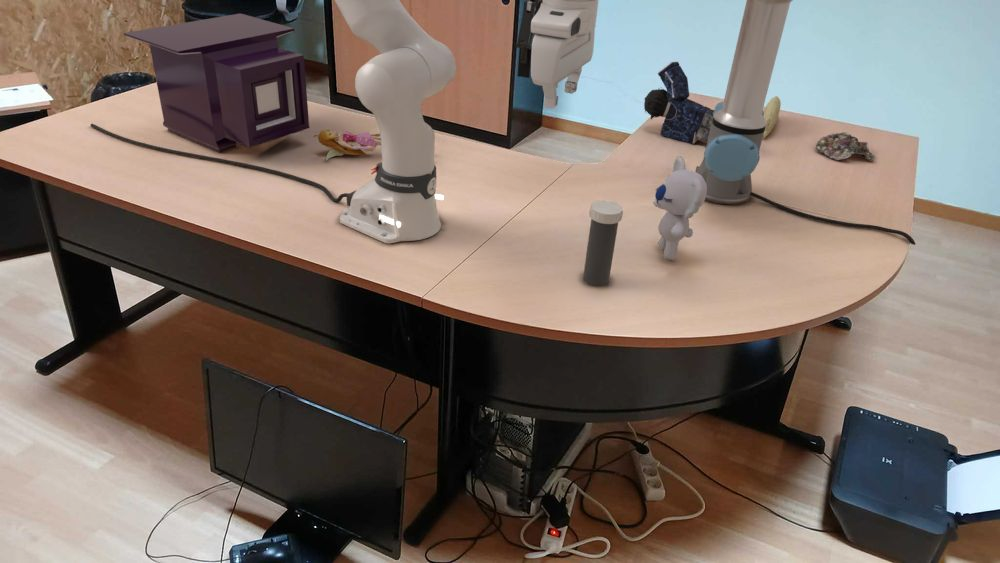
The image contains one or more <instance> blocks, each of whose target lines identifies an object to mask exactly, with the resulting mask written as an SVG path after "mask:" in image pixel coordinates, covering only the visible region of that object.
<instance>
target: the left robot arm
mask: <svg viewBox="0 0 1000 563" xmlns="http://www.w3.org/2000/svg"><path fill="white" fill-rule="evenodd" d="M334 3H335V4H336V6H337V9H339V11H340V13H341V15H342V17H343V18H344V20H345V22H346V24H347V26H348V28H349V30H350V31H351V33H352V34H353V35H354V36H355V37H357V38H358V39H360V40H362V41H364V42H366V43H368V44H370V45H371V46H372V47H373V48H375V50H377V51H378V53H379V54H377V55H375V56H374V57H372V58H371V59H369V60H368V61H367V62H365V63H364V64H363V65H362V66H360V67H359V69H358V70H357V72H356V75H355V79H354V88H355V93H356V95H357V97H358V99H359V101H360V103H361V105H363V106H364V108H365V109H367V110H368V111H370V112H371V113H372V114H373V116H374V118H375V120H376V123H377V125H378V126H377V127H378V129H379V134H380V136H379V137H381V145H380V150H381V152H380V153H381V161H380V162H379V163H376V165H375V166H374V167H372V168H371V169H370V171H371V172H370V174H371V175H374V174H375V173H376V174H375V177H374V178H373V179H371V180H369V181H368V182H367V183H365V184H363V185H362V186H360V187H359V188H358V189H356V190H354V191H352V192H350V193H348V192H344V193H341V194H340V195H339V196H337V197H334V196H333V195H332V194H331V192H330V191H329V189H328V188H327V187H325V186H324V185H323V184H321V183H318V182H315V181H313V180H310V179H306V178H303V177H301V176H297V175H293V174H290V173H287V172H283V171H280V170H276V169H272V168H268V167H264V166H260V165H254V164H250V163H245V162H240V161H236V160H229V159H225V158H218V157H214V156H208V155H203V154H198V153H197V154H196V153H191V152H186V151H181V150H176V149H171V148H168V147H167V148H166V147H161V146H157V145H153V144H149V143H145V142H141V141H137V140H134V139H131V138H128V137H124V136H121V135H119V134H116V133H114V132H111V131H109V130H107V129H104V128H102V127H101V126H98V125H97V124H94V123H90V127H91V128H93V129H96V131H97V130H98V131H99V132H101V133H103V134H105V135H108V136H110V137H113V138H116V139H117V140H121V141H124V142H127V143H130V144H133V145H136V146H141V147H144V148H147V149H153V150H157V151H161V152H166V153H170V154H176V155H180V156H185V157H191V158H197V159H201V160H208V161H213V162H219V163H222V164H228V165H229V164H230V165H234V166H239V167H244V168H248V169H254V170H259V171H262V172H267V173H270V174H271V173H272V174H274V175H279V176H282V177H286V178H290V179H293V180H296V181H299V182H302V183H305V184H308V185H311V186H314V187H316V188H318V189H319V190H322V191H323V192H324V193H325V194H326V195H327V197H328V198H329V199H330V200H331V201H332V202H333V203H340V202H341V201H342V200H343V198H346V205H347V206H348V207H347V208H345V209H344V210H343V211H342V212H341V214H340V216H339V223H340V224H342V225H343V226H346V227H348V228H351V229H352V230H355V231H358V232H360V233H361V234H365V235H366V236H368V237H371V238H373V239H375V240H377V241H379V242H382V243H384V244H393V243H394V244H395V243H399V242H411V241H420V240H421V241H422V240H424V239H427V238H431V237H432V236H434V235H436V234H437V233H438V232H439V231H440V230H441V227H442V223H441V220H440V217H439V212H438V208H437V207H438V206H437V201H436V200H440V201H443V200H444V195H443V194H437V193H436V191H437V166H436V164H435V155H436V154H435V151H436V150H435V148H436V146H435V145H436V144H435V143H436V142H435V141H436V135H435V131H434V129H433V127H432V126H431V125H429V124H428V123H427V122H425V120H424V114H423V111H422V105H423V102H424V100H426V99H429V98H431V97H433V96H435V95H437V94H439V93H441V92H442V91H443V90H444V89H445V88H446V87H447V86H448V85H450V83H451V82H452V81H453V79H454V77H455V75H456V69H457V65H456V64H457V63H456V59H455V57H454V56H455V55H454V54H453V52H452V51H451V50H450V48H449V46H447V45H446V44H444V43H443V42H441V41H439V40H437V39H436V38H433V37H432V36H431V35H430V34H428V33H427V32H426V31H425V30H424V29H423V27H421V26H420V24H418V22H416V20H415V19H414V18H413V16H411V14H410V13H409V12H408V11H407V9H406V8H405V6H404V5H403V3H402V2H401V0H334ZM598 8H599V0H543V3H541V6H540V9H539V10H538V12H537V13H536V15H535V16H534V17H533V19H532V21H531V32H532V33H534V36H533V40H532V44H531V48H532V53H531V66H530V77H531V80H532V83H533V84H534V85H536V86H540V87H542V91H543V96H544V101H543V104H544V105H543V106H544V107H545V108H546V109H551V110H552V109H554V108H556V107H557V106H558V101H559V96H558V95H557V89H558V88H559V83H560V82H562V81H564V80H565V79H566V81H565V82H564V92H565V93H566V94H571V95H573V94H574V93H576V92H577V90H578V82H579V80H580V77H581V74H582V71H583V67H584V66H585V65H587V64H588V63H589V62H591V61H592V59H593V54H594V48H595V34H596V33H595V32H596V27H597V26H596V25H597V17H598Z"/></svg>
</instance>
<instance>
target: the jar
mask: <svg viewBox="0 0 1000 563" xmlns="http://www.w3.org/2000/svg"><path fill="white" fill-rule="evenodd" d="M618 227H619V222H618V223H615V224H603V223H599V222H596V221H594V220H593V219H591V218H590V226H589V232H588V240H587V246H586V252H585V260H584V267H583V274H582V280H583V282H584V283H585V284H587V285H589V286H592V287H603V286H607V285H608V284H609V282H610V277H611V276H610V275H611V271H612V265H613V264H612V263H613V259H614V253H615V245H616V241H617V240H616V239H617V233H618Z"/></svg>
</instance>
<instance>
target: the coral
mask: <svg viewBox="0 0 1000 563" xmlns="http://www.w3.org/2000/svg"><path fill="white" fill-rule="evenodd" d="M815 150H816V151H817V152H818V153H824V155H825V156H827V157H828V158H830V159H832V160H835V161H839V160H840V161H841V160H844V159H848V158H851V157H852V155H853V154H854V155H857V154H859V155H860V156H861V158H863V159H865V160H866V161H871V162H874V160H875V159H874V158H875V155H874V154H873V153H872V152H871V151H870V149H869V147H868V142H867V141H859V139H858V137H855V136H853V135H852V134H851V133H849V132H848V131H846V132H844V131H843V132H836V133H830V134H827V135H826V136H822V137H820V138H819V140H818V141H817V142H816V144H815ZM873 157H874V158H873Z"/></svg>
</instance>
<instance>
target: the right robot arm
mask: <svg viewBox="0 0 1000 563" xmlns="http://www.w3.org/2000/svg"><path fill="white" fill-rule="evenodd" d="M792 2H793V0H746V2H745V6H744V10H743V16H742V19H741V23H740V28H739V33H738V37H737V42H736V46H735V49H734V54H733V59H732V64H731V68H730V71H729V72H730V73H729V76H728V81H727V86H726V88H725V94H724V98H723V101H721V102H720V101H719V102H718V103H716V105H715V106H714V109H713V110H714V112H713V118H712V123H711V127H710V132H709V136H708V141H707V142H706V145H705V149H704V153H703V159H702V161H701V163H700V165H696V167H695V172H697V173H698V174H700V175H701V176H702V177H703V178H704V180H705V182H706V185H707V193H706V198H705V201H707V202H710V203H713V204H717V205H726V206H727V205H729V206H734V205H742V204H745V203H747V202H749V201H750V199H751V197H752V198H755V199H758V200H760V201H761V202H764V203H767V204H768V205H771V206H773V207H776V208H778V209H780V210H783V211H786V212H788V213H791V214H793V215H796V216H800V217H803V218H806V219H811V220H813V221H818V222H823V223H826V224H827V223H828V224H832V225H838V226H842V227H849V228H857V229H869V230H875V231H881V232H885V233H890V234H895V235H899V236H901V237H903V238H905V239H906V240H907V241H908V242H909V244H911V245H914V246H916V244H917V243H916V242H915V239H914V238H913V237H912V236H911V235H910V234H908V233H907V232H904V231H902V230H898V229H894V228H888V227H883V226H880V225H874V224H864V223H854V222H847V221H842V220H837V219H836V220H835V219H831V218H825V217H820V216H818V215H817V216H816V215H812V214H809V213H806V212H802V211H801V210H800V211H799V210H796V209H793V208H791V207H788V206H785V205H784V204H780V203H778V202H775V201H773V200H771V199H768V198H766V197H765V196H762V195H760V194H757V193H755V192H752V191H753V186H752V173H753V172H754V171H755V170H756V168H757V166H758V165H759V162H760V157H761V156H760V150H761V145H762V142H763V135H764V131H765V127H766V120H765V119H764V118H763V117H764V106H765V102H766V99H767V95H768V92H769V91H768V90H769V87H770V83H771V79H772V75H773V70H774V67H775V65H776V64H775V63H776V59H777V57H778V52H779V48H780V44H781V41H782V36H783V33H784V29H785V26H786V21H787V17H788V13H789V9H790V5H791V3H792ZM541 3H543V0H524V1H523V8H522V16H521V20H520V27H519V32H518V37H517V42H516V43H515V48H518V61H517V62H518V63H517V75H516V76H517V77H519V78H520V77H521V78H526V79H529V78H530V77H531V53H532V42H533V38H534V36H535V33H532V32H531V21H532V19H533V17H534V16H535V15H536V13H537V12H538V10H539V9H540V6H541Z"/></svg>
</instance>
